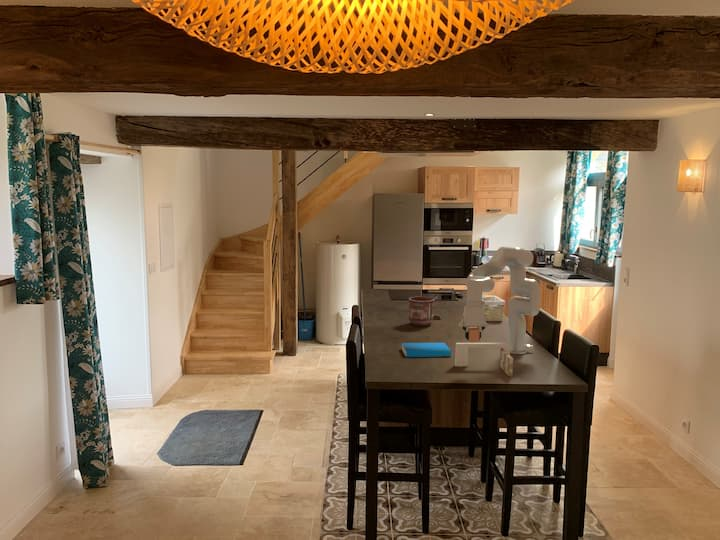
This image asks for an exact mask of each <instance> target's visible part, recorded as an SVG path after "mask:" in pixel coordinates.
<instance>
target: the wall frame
mask: <svg viewBox="0 0 720 540" xmlns="http://www.w3.org/2000/svg"><path fill="white" fill-rule="evenodd" d="M469 348H472V349H473V348H475V349H476V348H479V349H480V348H481V349H482V348H483V349H484V348H489V349H490V348H491V349H493V348H498V349H501V348H503V349H504V350H505V351H506V352H507V353H508V354H509V355H510V356H511V353H510V343H508V342H455V354H454V355H455V357H454V358H455V359H454V366H455V367H468V366H469Z"/></svg>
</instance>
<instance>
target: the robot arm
mask: <svg viewBox="0 0 720 540" xmlns="http://www.w3.org/2000/svg"><path fill="white" fill-rule="evenodd" d="M533 263H534V254H533V252H532V251H531V250H528V249H525V248H520V247H516V246H515V247H514V246H500V247H498V249H497V250H496V252H494V254H493V255H492V256H491V258H490V259H489V261H488V262H485V263H483V264H481V265H479V266H476V267H475V268H473V270H472V271H471V272H470V273H469V274H468V276H467V278H466V280H465V286H466V305H464V307H463V314H462V320H460V322H459V323H458V326H459V327H460V328H462V330H463V331H464V333H465V334H464V337H465V339H466V341H468V340H469V332H468V330H469V327H477V328H478V329H479V330H480V336H479V341H481V338H482V332H483V331H484V330H485V329H486V328H488V327H489V323H488V321H485V320H484V309H483V306H482V305H483V304H485V301H486V300H484V301H482V296H483V293H489V292H492V291H493V290H494V288H495V286H496V284H495V281H494V279H493V278H492V276H497V275H499V274H500V275H501V273H502V272H503V271H504V269H505V268H506V266H507V267H508V269H509V282H510V283H509V286H510V287H509V288H510V292H511V294H513V295H514V296H510V298H509V299H508V301H507V311H508V325H507V326H508V329H507V330H508V331H507V343H510V354H513V355H525V354H527V353H528V349H529V350H530V349H531V350H533V349H534V348H535V347H534V345H530V344H526V331H527V321H526V318H525V315H526V316H533V317H535V316H537V315H538V314H539V312H540V310H541V309H540V308H541V307H540V306H541V286H540V283H539V281H538V280H537V279H532V278H527V270H526V267H530V266H531V265H533Z"/></svg>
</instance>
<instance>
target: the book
mask: <svg viewBox="0 0 720 540" xmlns="http://www.w3.org/2000/svg"><path fill="white" fill-rule="evenodd" d="M401 350H402V352H403V354H404V356H405V358H432V357H433V358H436V357H437V358H438V357H440V358H442V357H441V356H452V350H451V349H450V347H448V345H447V344H446V343H445V342H402V343H401Z"/></svg>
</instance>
